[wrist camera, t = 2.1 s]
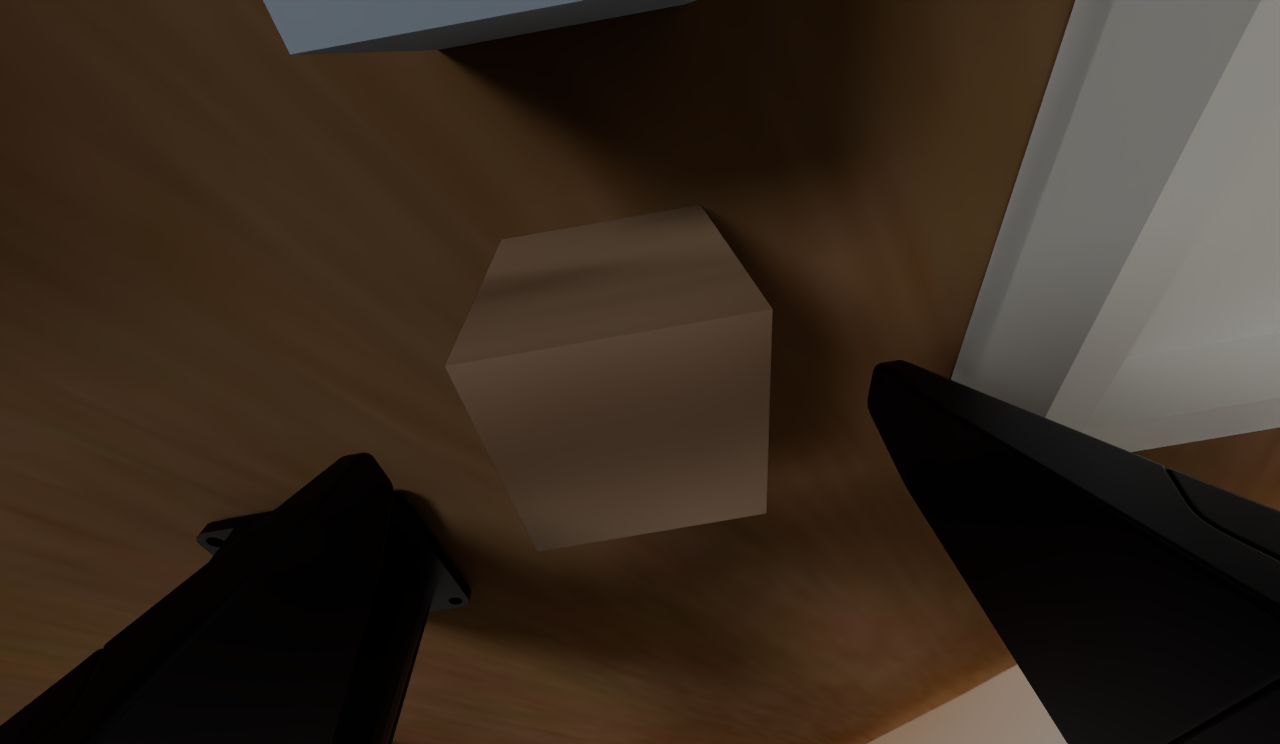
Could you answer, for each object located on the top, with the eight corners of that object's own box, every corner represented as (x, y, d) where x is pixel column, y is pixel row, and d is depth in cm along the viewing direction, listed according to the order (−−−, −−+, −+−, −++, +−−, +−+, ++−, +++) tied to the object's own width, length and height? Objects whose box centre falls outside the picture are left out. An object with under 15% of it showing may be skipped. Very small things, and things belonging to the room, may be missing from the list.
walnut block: (710, 365, 13) (766, 513, 9) (553, 392, 13) (537, 552, 9) (699, 203, 10) (772, 309, 6) (502, 238, 10) (445, 366, 6)
